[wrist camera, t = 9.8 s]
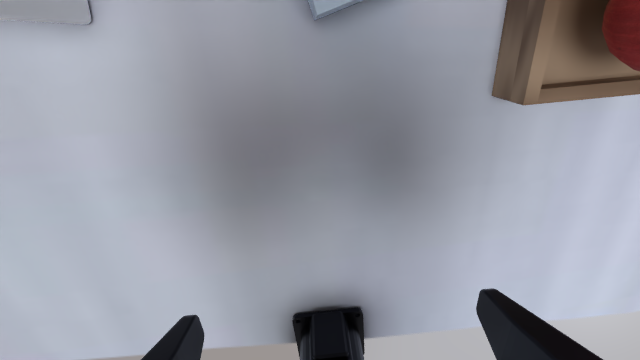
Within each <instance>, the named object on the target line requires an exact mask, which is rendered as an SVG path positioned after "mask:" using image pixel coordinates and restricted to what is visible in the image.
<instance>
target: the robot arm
mask: <svg viewBox="0 0 640 360" xmlns="http://www.w3.org/2000/svg"><path fill="white" fill-rule="evenodd" d="M476 311H477V315H478V317H479V320H480V322H481V324H482V327H483V329H484V331H485V334H486V336H487V338H488V341H489V343H490V345H491V347H492V350H493V352H494V355H495V357H496V359H497V360H603V359H601V358H600V357H598V356H597V355H595V354H594V353H592V352H591V351H589V350H587V349H586V348H585V347H583V346H581V345H580V344H578V343H577V342H576V341H574V340H572V339H571V338H569V337H568V336H566V335H565V334H563V333H562V332H560V331H559V330H557V329H556V328H554V327H553V326H551V325H550V324H548V323H547V322H545V321H544V320H542V319H540V318H539V317H537V316H536V315H534V314H533V313H531V312H530V311H528V310H527V309H525V308H524V307H522V306H521V305H519V304H518V303H516V302H515V301H513V300H511V299H510V298H508V297H507V296H505V295H504V294H502V293H501V292H499V291H498V290H496V289H483V290H481V291H480V293H479V298H478V302H477V307H476ZM293 326H294V331H295V336H296V341H297V346H298V351H299V356H300V360H364V356H363V355H364V330H363V313H362V310H361V309H360V308H351V309H341V310H331V311H322V312H312V313H303V314H296V315H294V316H293ZM203 342H204V331H203V328H202V325H201V322H200V320H199V317H198V316H197V315H187V316H184V317H182V318H181V319H180V320H179V321H178V322H177V323H176V324H175V325H174V326H173V327H172V328H171V329H170V330H169V331H168V332H167V333H166V334H165V335H164V337H163V338H162V339H161V340H160V341H159V342H158V343H157V344H156V345H155V346H154V347H153V348H152V349H151V350H150V351H149V352H148V353H147V354H146V355H145V356H144V357H143V358H142V359H141V360H200V358H201V353H202V347H203Z"/></svg>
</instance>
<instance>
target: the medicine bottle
mask: <svg viewBox="0 0 640 360" xmlns="http://www.w3.org/2000/svg"><path fill="white" fill-rule="evenodd" d="M0 20H7V21H25V22H42V23H60V24H78V25H86V24H89V23H90V22H91V15H90V10H89V5H88V0H0Z"/></svg>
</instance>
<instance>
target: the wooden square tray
mask: <svg viewBox="0 0 640 360" xmlns="http://www.w3.org/2000/svg"><path fill="white" fill-rule="evenodd" d="M608 1H609V0H507V6H506V12H505V18H504V24H503V31H502V37H501V43H500V49H499V55H498V61H497V67H496V73H495V79H494V85H493V91H492V96H495V97H498V98H501V99H504V100H508V101H511V102H514V103H517V104H521V105H531V104H542V103H552V102H562V101H573V100H583V99H593V98H604V97H614V96H625V95H635V94H640V71H636V70H633V69H632V68H630V67H629V66H627V65H626V64H624V63H623V62H621V61H620V60H619V59H618V58H617V57H615V56H614V55H613V54H612V53H611V52H610V51H609V49H608V46H607V43H606V41H605V38H604V35H603V32H602V23H603V17H604V11H605V9H606V5H607V3H608Z"/></svg>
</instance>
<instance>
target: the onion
mask: <svg viewBox="0 0 640 360" xmlns="http://www.w3.org/2000/svg"><path fill="white" fill-rule="evenodd" d="M602 32H603V35H604V38H605V41H606V43H607V46H608V49H609V51H610V52H611V53H612V54H613V55H614V56H615V57H617V58H618V59H619V60H620V61H621V62H623V63H624V64H626V65H627V66H629V67H630V68H632V69H633V70H636V71H640V0H609V1H608V3H607V5H606V9H605V11H604V17H603V23H602Z"/></svg>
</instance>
